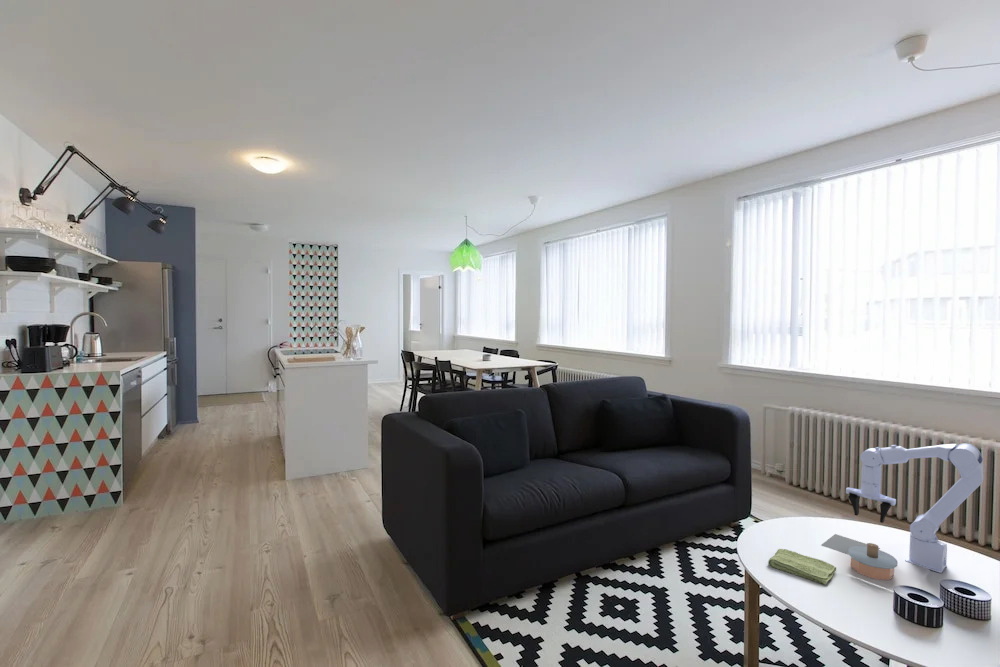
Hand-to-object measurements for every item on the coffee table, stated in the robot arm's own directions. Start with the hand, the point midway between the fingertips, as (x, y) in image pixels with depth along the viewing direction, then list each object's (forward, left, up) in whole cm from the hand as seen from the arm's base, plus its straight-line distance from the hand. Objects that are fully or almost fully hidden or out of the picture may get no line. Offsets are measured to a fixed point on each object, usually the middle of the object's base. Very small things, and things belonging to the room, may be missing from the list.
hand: (869, 518), depth 179 cm
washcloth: (+9, +36, -11) cm, 38 cm away
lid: (-6, +19, -6) cm, 21 cm away
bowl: (-6, +19, -10) cm, 23 cm away
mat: (+4, +6, -10) cm, 13 cm away
